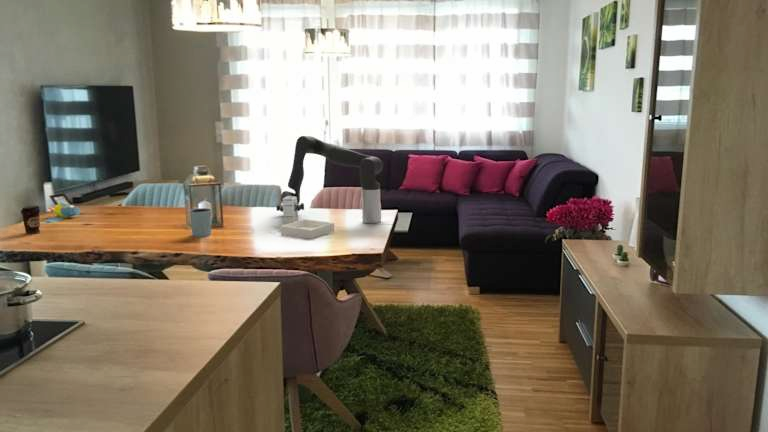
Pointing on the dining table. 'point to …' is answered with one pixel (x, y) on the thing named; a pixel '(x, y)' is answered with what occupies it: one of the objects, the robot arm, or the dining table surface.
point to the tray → (307, 228)
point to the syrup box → (290, 209)
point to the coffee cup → (31, 219)
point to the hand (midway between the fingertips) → (290, 209)
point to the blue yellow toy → (62, 212)
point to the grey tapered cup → (200, 222)
